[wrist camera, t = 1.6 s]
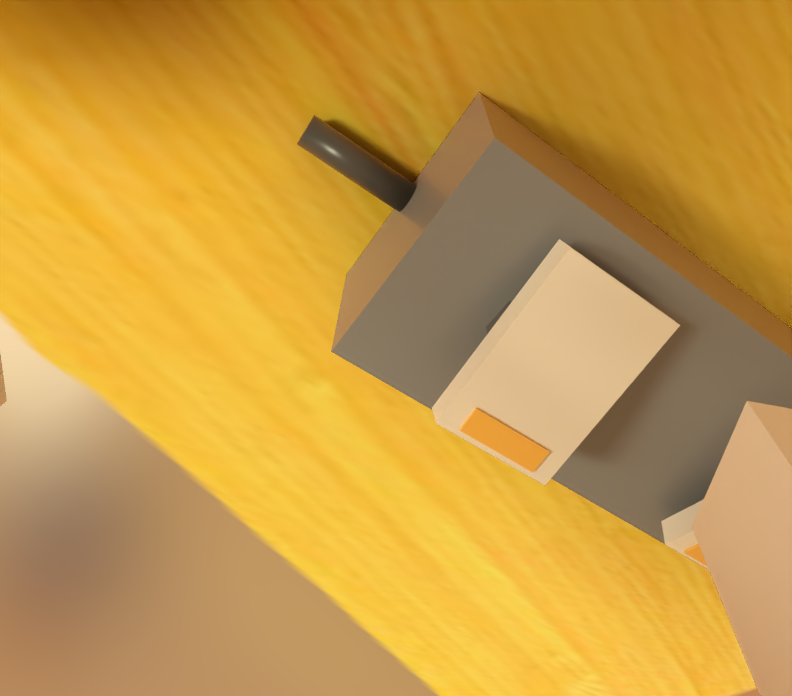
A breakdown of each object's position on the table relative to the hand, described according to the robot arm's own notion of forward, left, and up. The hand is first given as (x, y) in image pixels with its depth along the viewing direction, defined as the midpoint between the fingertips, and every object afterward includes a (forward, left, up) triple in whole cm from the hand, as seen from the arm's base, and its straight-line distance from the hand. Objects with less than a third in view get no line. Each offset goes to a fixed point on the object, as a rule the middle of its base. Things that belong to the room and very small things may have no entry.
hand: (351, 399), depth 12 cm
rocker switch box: (+10, -12, -25) cm, 30 cm away
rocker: (+6, -10, -16) cm, 19 cm away
